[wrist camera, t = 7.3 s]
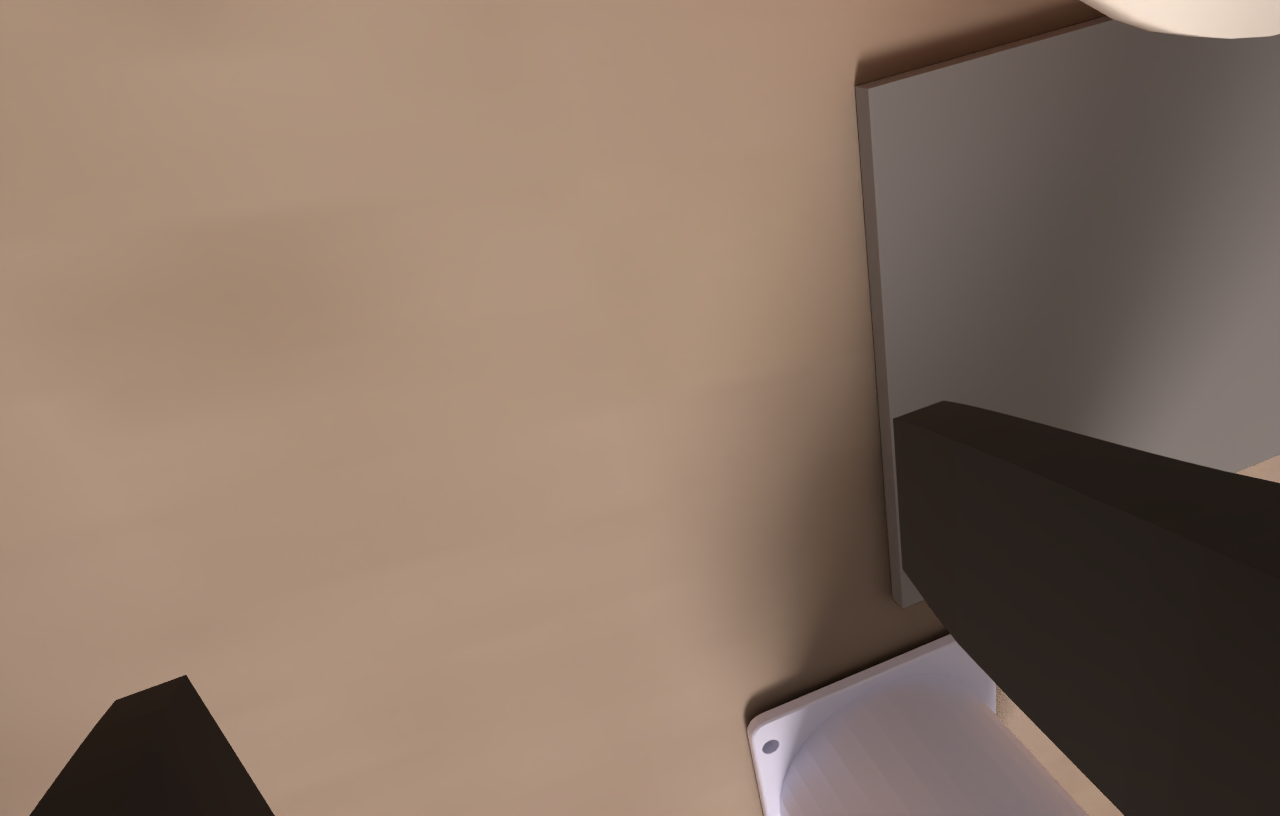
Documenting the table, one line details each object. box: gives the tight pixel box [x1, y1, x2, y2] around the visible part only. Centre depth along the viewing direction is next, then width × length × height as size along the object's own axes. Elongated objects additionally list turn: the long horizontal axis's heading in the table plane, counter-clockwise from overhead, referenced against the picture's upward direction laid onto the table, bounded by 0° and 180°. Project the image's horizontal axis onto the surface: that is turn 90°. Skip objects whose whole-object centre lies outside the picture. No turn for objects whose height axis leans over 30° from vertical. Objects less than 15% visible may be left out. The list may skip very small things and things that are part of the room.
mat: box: [855, 16, 1280, 609], centre depth 22 cm, size 14×14×1 cm
